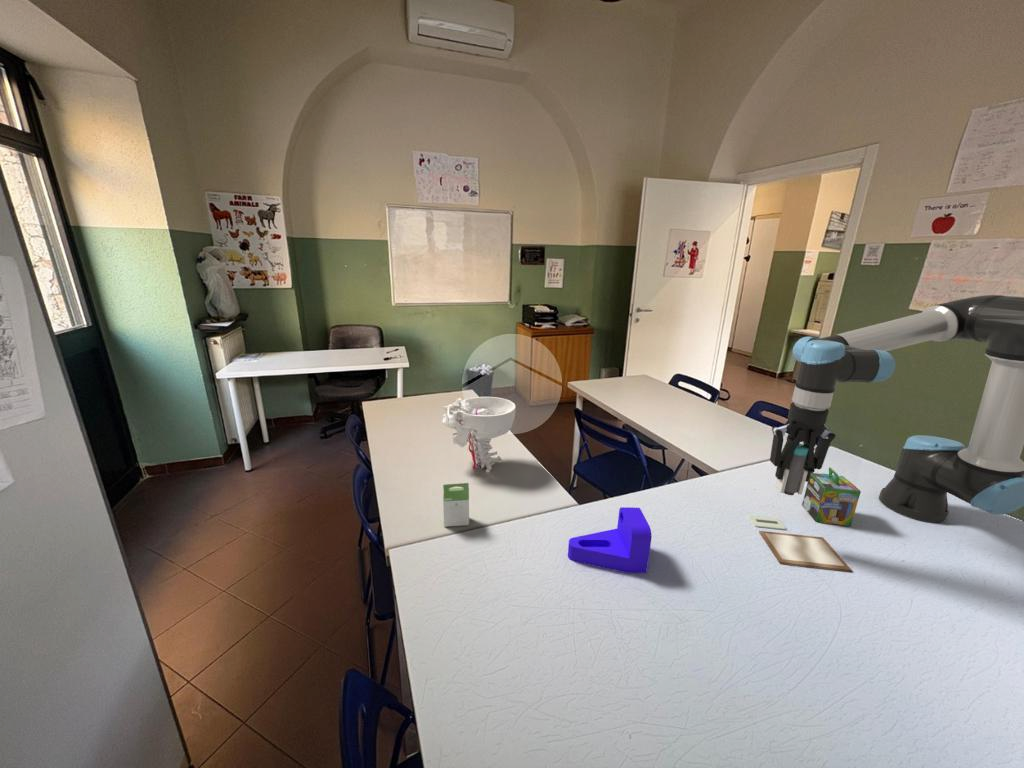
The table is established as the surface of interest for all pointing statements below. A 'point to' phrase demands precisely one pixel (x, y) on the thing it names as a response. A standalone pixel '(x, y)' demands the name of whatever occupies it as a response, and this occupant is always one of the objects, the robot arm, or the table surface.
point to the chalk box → (831, 498)
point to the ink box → (456, 504)
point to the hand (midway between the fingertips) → (788, 490)
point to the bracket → (616, 544)
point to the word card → (766, 522)
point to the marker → (795, 469)
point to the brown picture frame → (804, 551)
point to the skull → (479, 425)
